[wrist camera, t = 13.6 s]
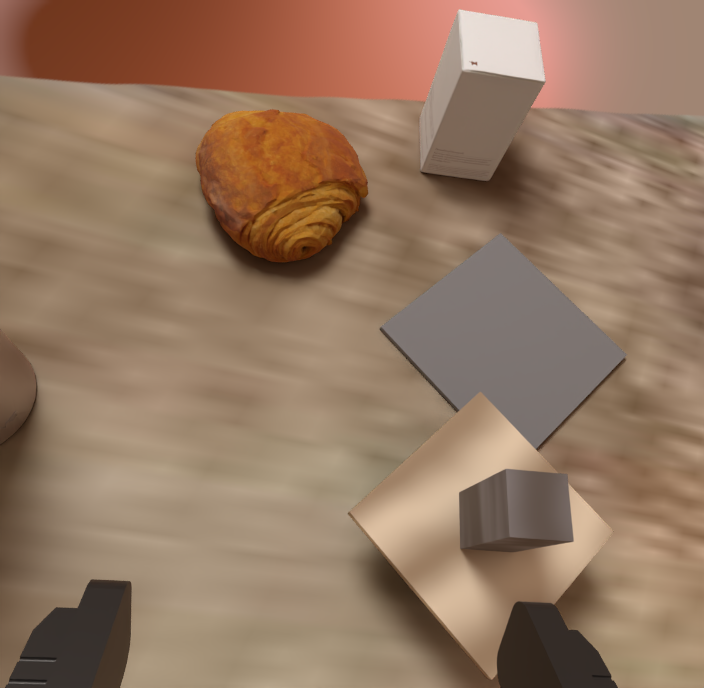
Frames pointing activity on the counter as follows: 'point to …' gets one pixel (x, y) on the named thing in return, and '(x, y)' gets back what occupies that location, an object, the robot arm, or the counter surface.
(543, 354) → the mat
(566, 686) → the robot arm
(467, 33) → the supplement box
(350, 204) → the croissant
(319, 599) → the counter surface
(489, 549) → the lid
